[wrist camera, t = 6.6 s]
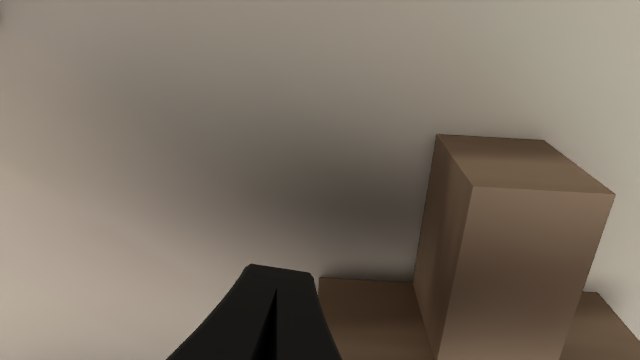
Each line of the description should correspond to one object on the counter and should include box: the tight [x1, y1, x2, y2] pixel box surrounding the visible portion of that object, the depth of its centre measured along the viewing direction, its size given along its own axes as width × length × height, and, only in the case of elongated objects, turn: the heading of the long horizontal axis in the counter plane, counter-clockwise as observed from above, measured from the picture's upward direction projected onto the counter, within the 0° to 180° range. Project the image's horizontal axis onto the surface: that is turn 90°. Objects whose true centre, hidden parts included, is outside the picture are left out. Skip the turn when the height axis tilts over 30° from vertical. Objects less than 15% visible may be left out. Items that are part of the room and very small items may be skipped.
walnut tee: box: [318, 134, 640, 360], centre depth 13 cm, size 8×9×4 cm
